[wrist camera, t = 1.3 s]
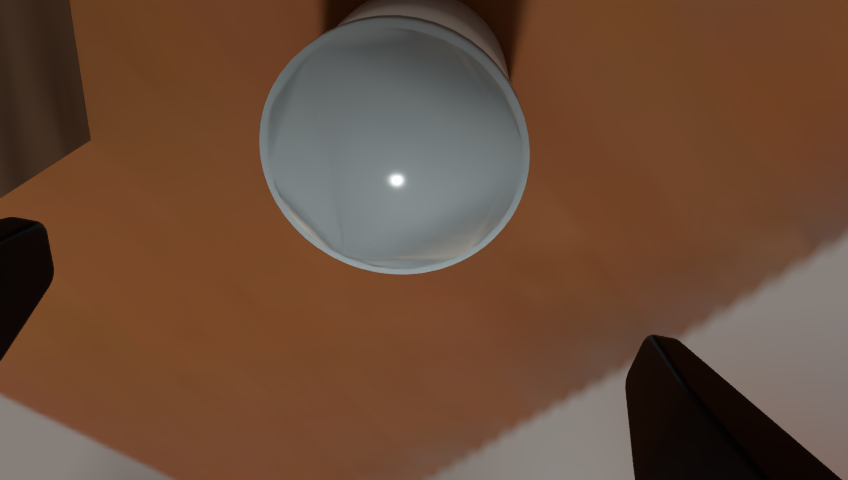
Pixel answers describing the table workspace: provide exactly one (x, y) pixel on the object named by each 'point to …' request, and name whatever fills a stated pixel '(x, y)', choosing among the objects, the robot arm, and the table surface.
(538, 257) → the table surface
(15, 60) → the beige box
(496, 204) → the beaker
